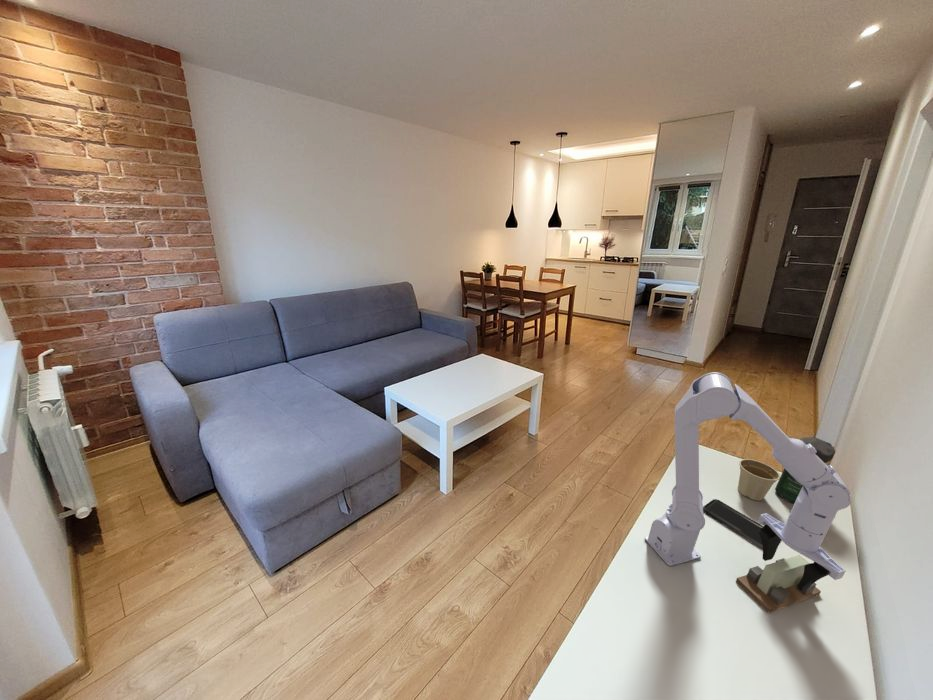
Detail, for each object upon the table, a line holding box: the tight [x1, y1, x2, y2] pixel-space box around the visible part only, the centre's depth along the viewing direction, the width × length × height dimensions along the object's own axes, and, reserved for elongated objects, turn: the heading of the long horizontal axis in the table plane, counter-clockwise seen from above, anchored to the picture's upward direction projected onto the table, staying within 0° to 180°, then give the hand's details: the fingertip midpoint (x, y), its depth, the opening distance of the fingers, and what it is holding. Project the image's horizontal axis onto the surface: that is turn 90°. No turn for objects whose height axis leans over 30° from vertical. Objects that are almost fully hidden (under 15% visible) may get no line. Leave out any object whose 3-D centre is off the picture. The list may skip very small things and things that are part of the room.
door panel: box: [757, 554, 810, 594], centre depth 77 cm, size 10×2×6 cm, turn 106°
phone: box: [703, 498, 764, 550], centre depth 95 cm, size 8×1×15 cm
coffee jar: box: [774, 436, 836, 504], centre depth 103 cm, size 10×8×19 cm
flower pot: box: [737, 458, 781, 501], centre depth 105 cm, size 9×9×9 cm
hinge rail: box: [735, 557, 822, 613], centre depth 78 cm, size 15×7×4 cm, turn 106°
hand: (784, 573), depth 77 cm, fingers open, 6 cm apart
